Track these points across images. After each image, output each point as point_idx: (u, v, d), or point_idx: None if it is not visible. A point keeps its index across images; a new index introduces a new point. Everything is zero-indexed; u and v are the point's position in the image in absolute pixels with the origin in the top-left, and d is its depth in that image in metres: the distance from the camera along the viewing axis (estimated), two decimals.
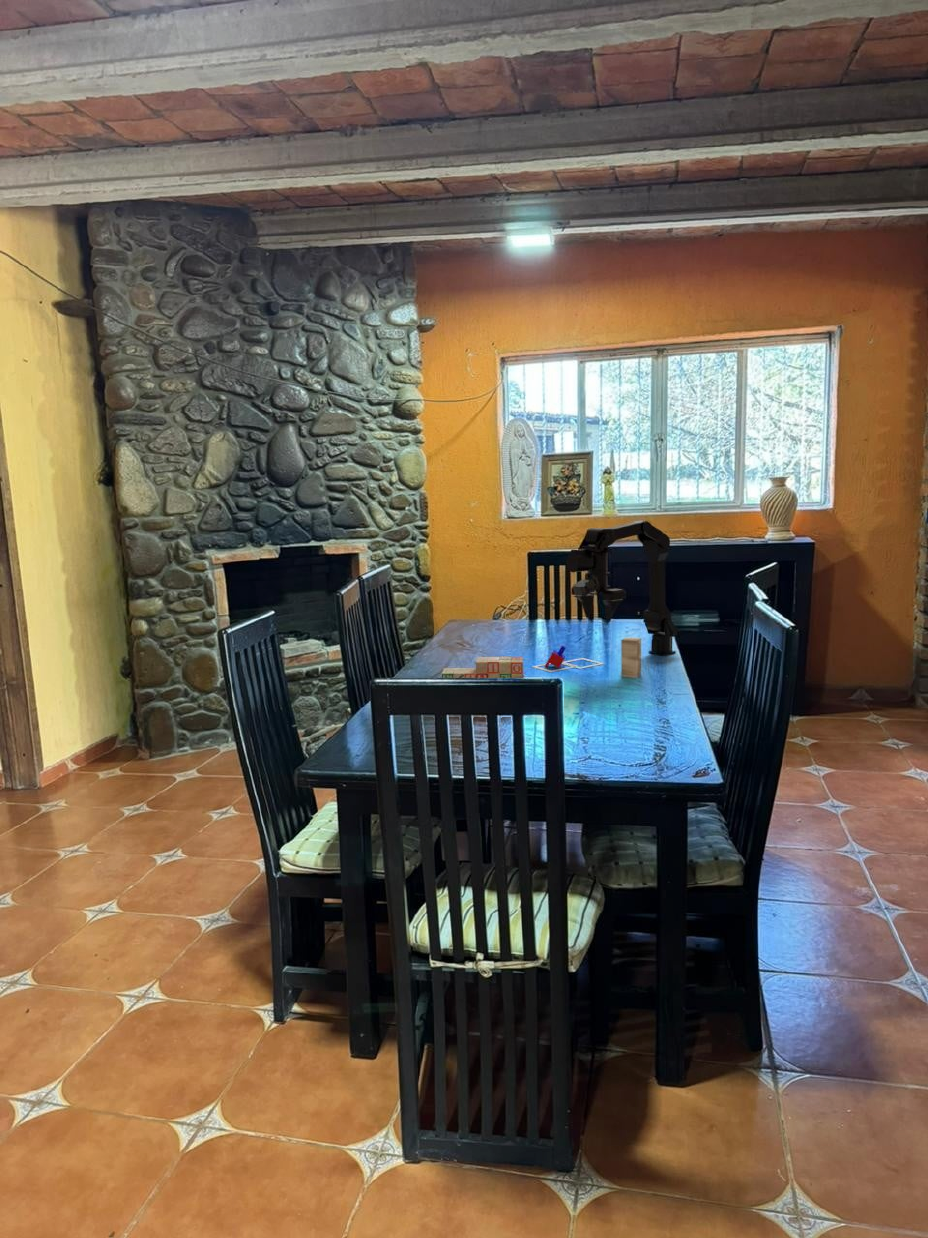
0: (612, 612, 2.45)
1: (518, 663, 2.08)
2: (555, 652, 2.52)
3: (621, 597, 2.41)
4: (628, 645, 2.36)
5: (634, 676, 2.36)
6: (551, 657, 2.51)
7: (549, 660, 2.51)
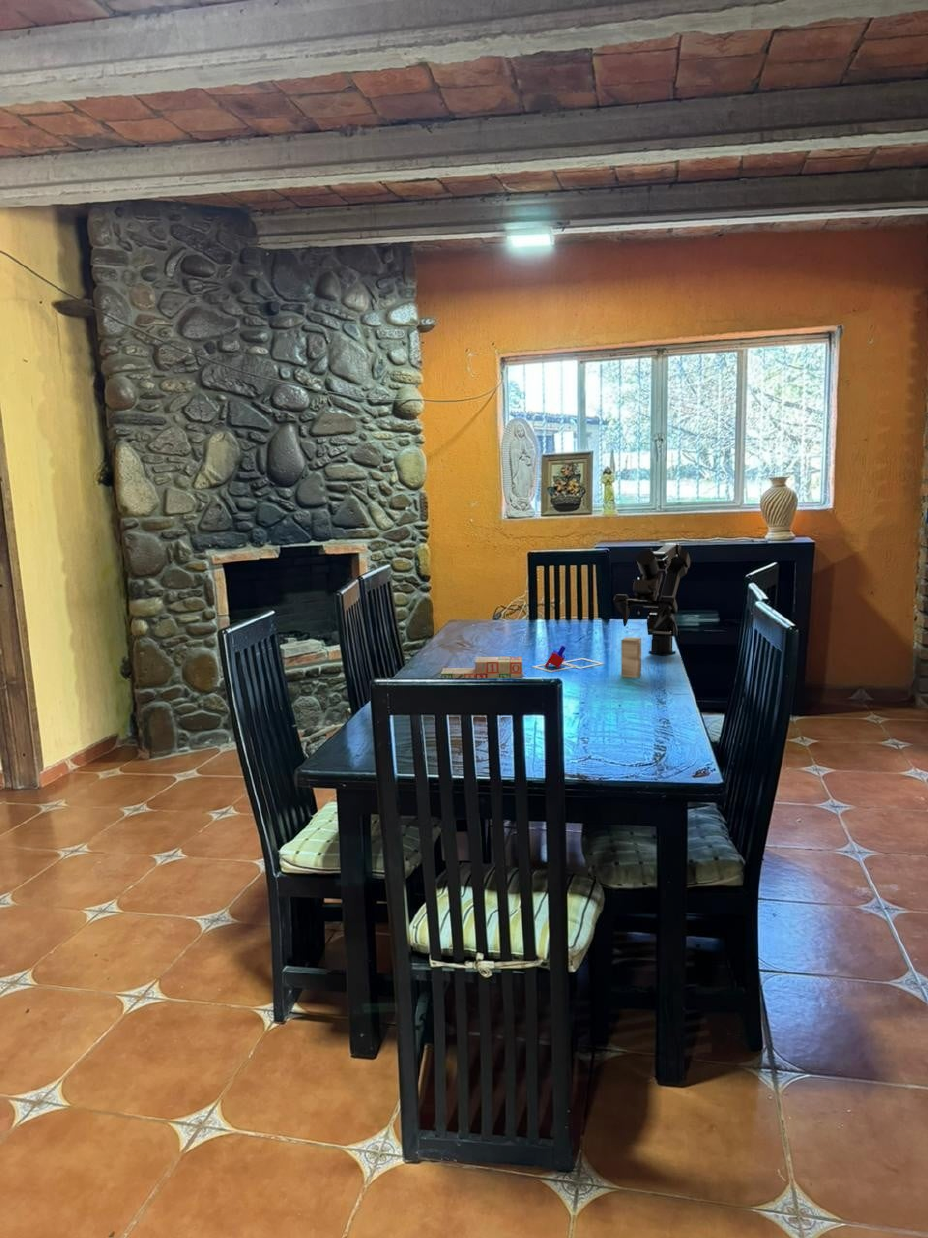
0: (660, 621, 2.42)
1: (517, 663, 2.09)
2: (555, 652, 2.52)
3: (675, 608, 2.43)
4: (628, 645, 2.36)
5: (634, 676, 2.36)
6: (551, 657, 2.51)
7: (549, 660, 2.51)
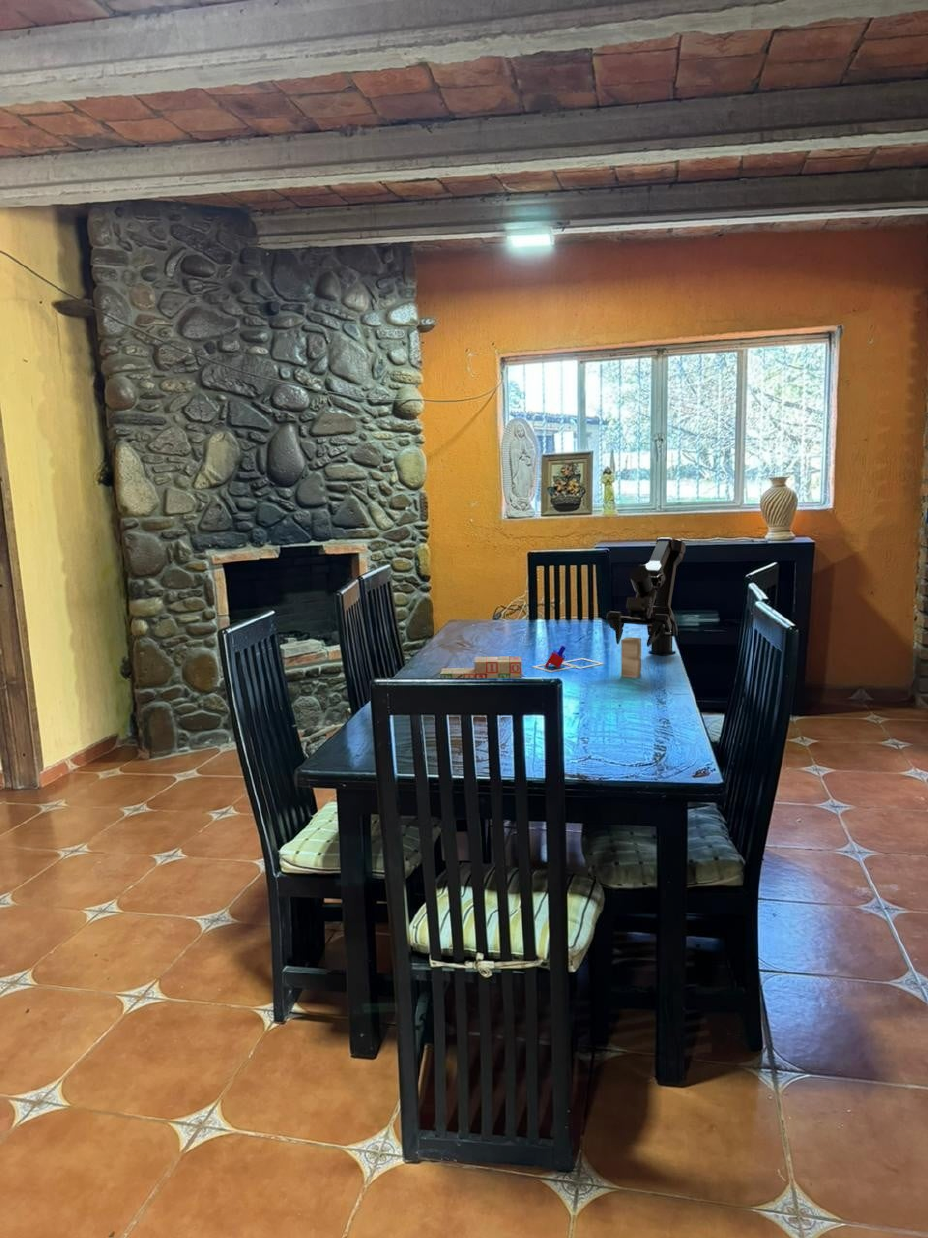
0: (653, 639, 2.37)
1: (517, 663, 2.09)
2: (555, 652, 2.52)
3: (669, 626, 2.38)
4: (628, 645, 2.36)
5: (634, 676, 2.36)
6: (551, 657, 2.51)
7: (549, 660, 2.51)
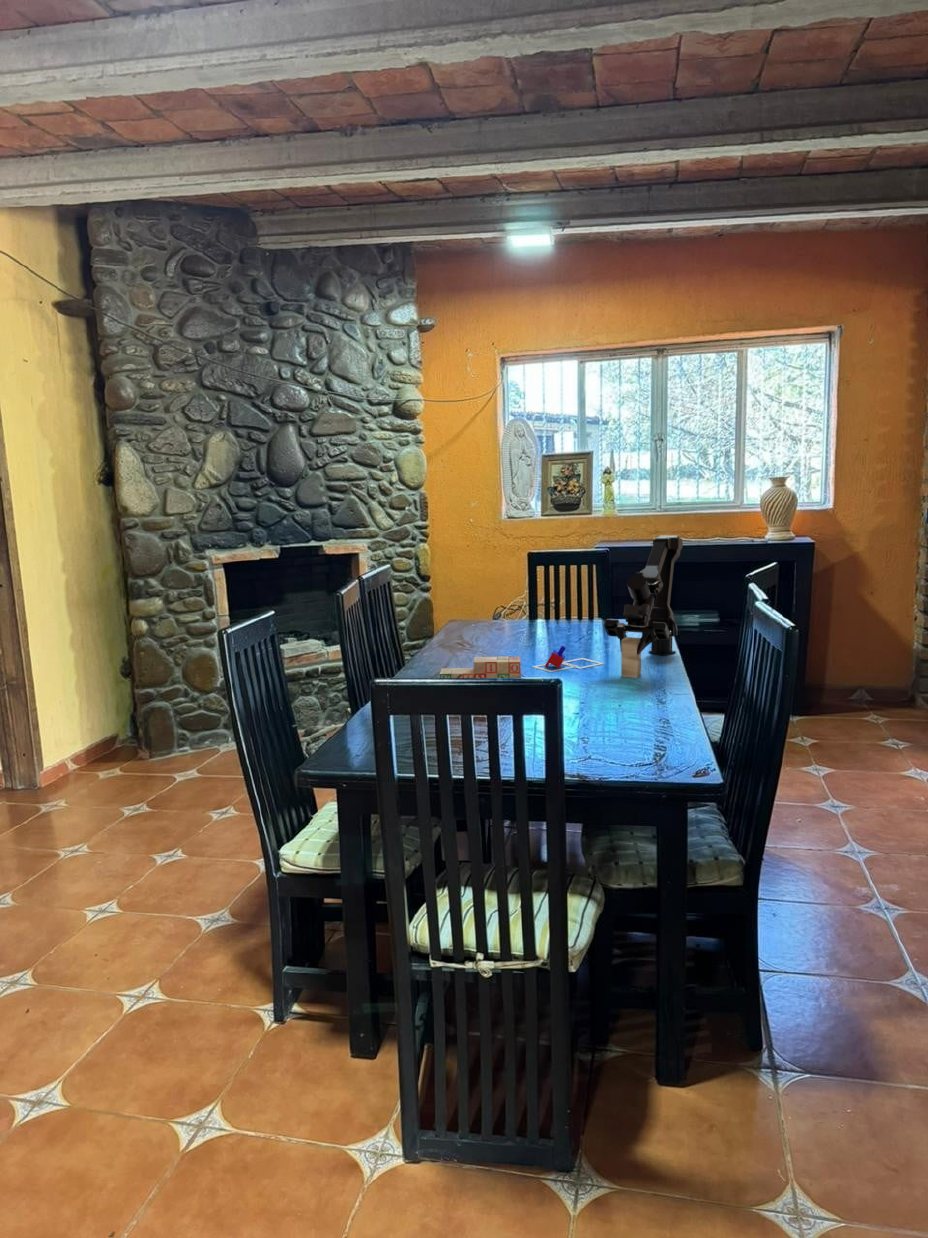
0: (643, 646, 2.37)
1: (516, 663, 2.09)
2: (555, 652, 2.52)
3: (667, 634, 2.36)
4: (628, 645, 2.36)
5: (634, 676, 2.36)
6: (551, 657, 2.51)
7: (549, 660, 2.51)
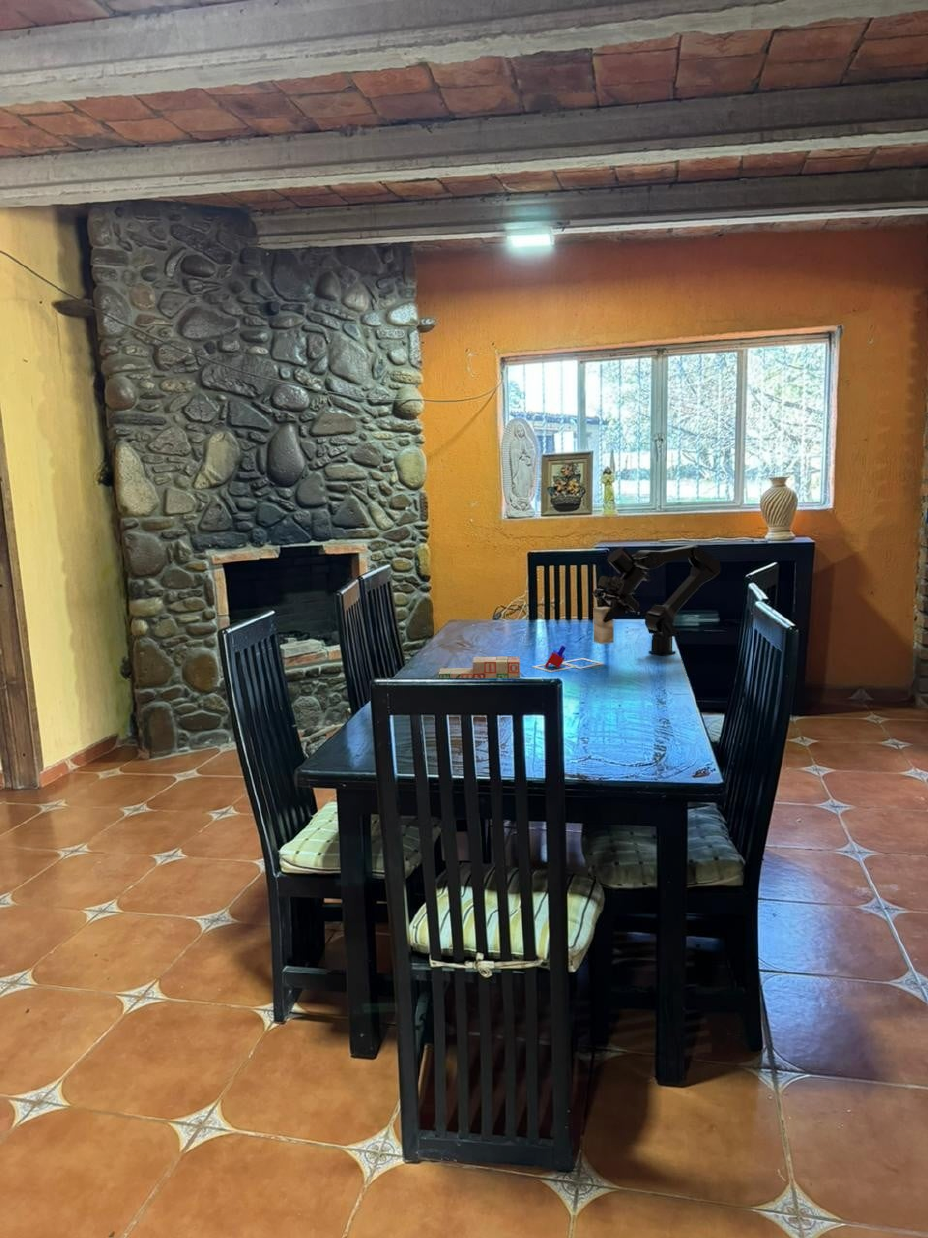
0: (612, 616, 2.53)
1: (515, 663, 2.09)
2: (555, 652, 2.52)
3: (633, 606, 2.48)
4: (596, 613, 2.55)
5: (600, 642, 2.54)
6: (551, 657, 2.51)
7: (549, 660, 2.51)
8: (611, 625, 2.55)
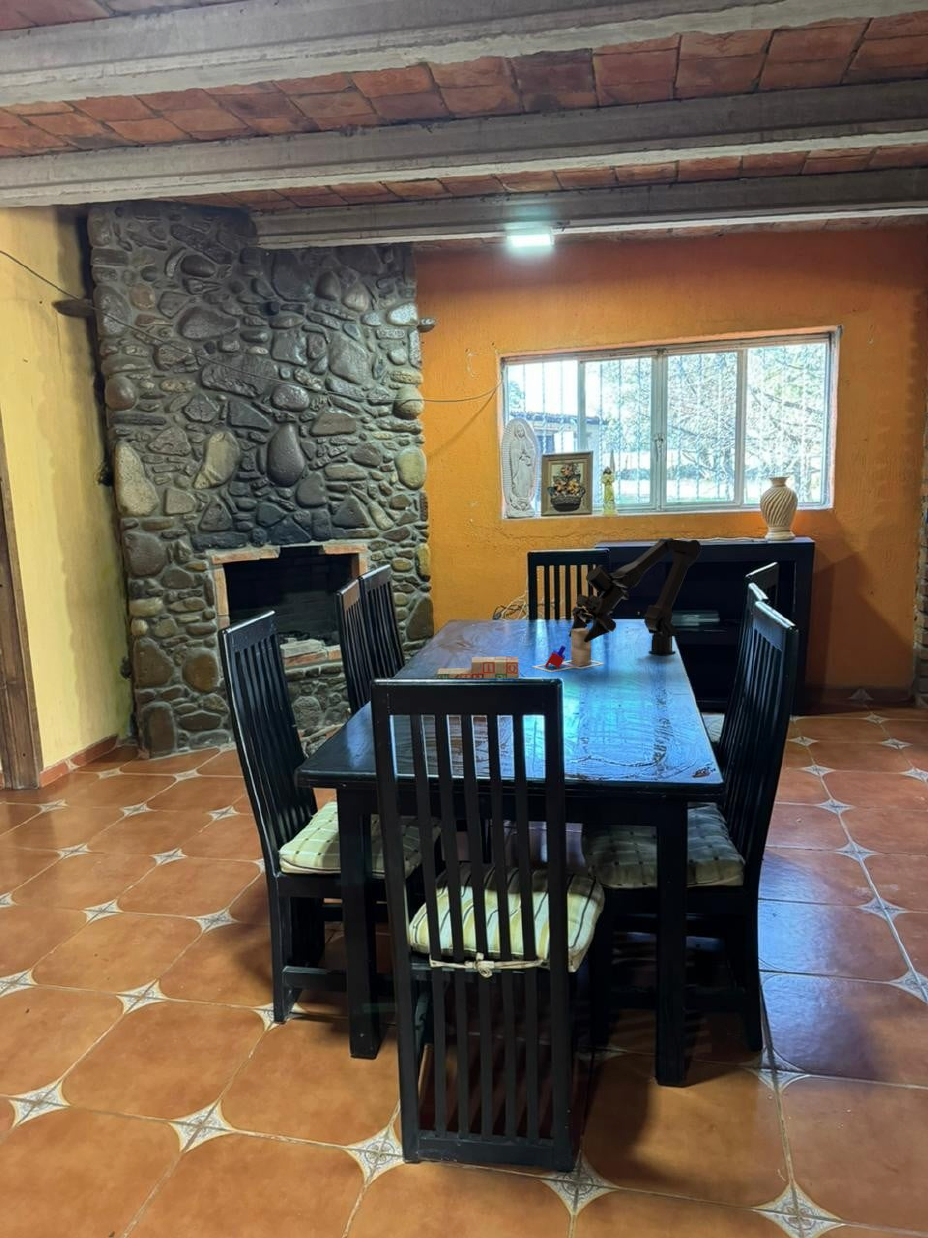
0: (593, 636, 2.50)
1: (513, 663, 2.09)
2: (555, 652, 2.52)
3: (610, 626, 2.47)
4: (574, 634, 2.54)
5: (577, 664, 2.53)
6: (551, 657, 2.51)
7: (549, 660, 2.51)
8: (588, 647, 2.54)
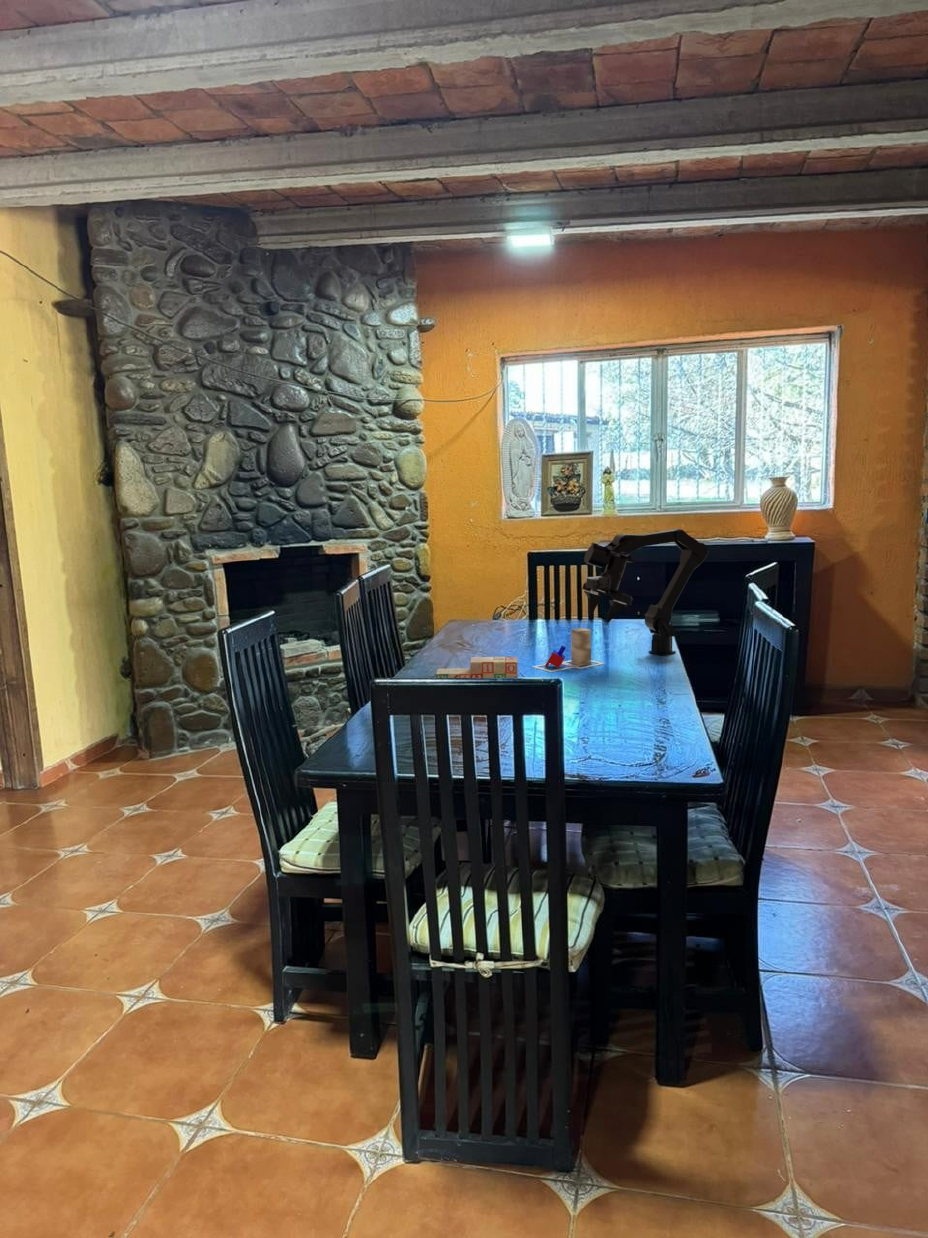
0: (614, 614, 2.56)
1: (513, 663, 2.09)
2: (555, 652, 2.52)
3: (627, 602, 2.52)
4: (574, 634, 2.54)
5: (577, 664, 2.53)
6: (551, 657, 2.51)
7: (549, 660, 2.51)
8: (588, 647, 2.53)
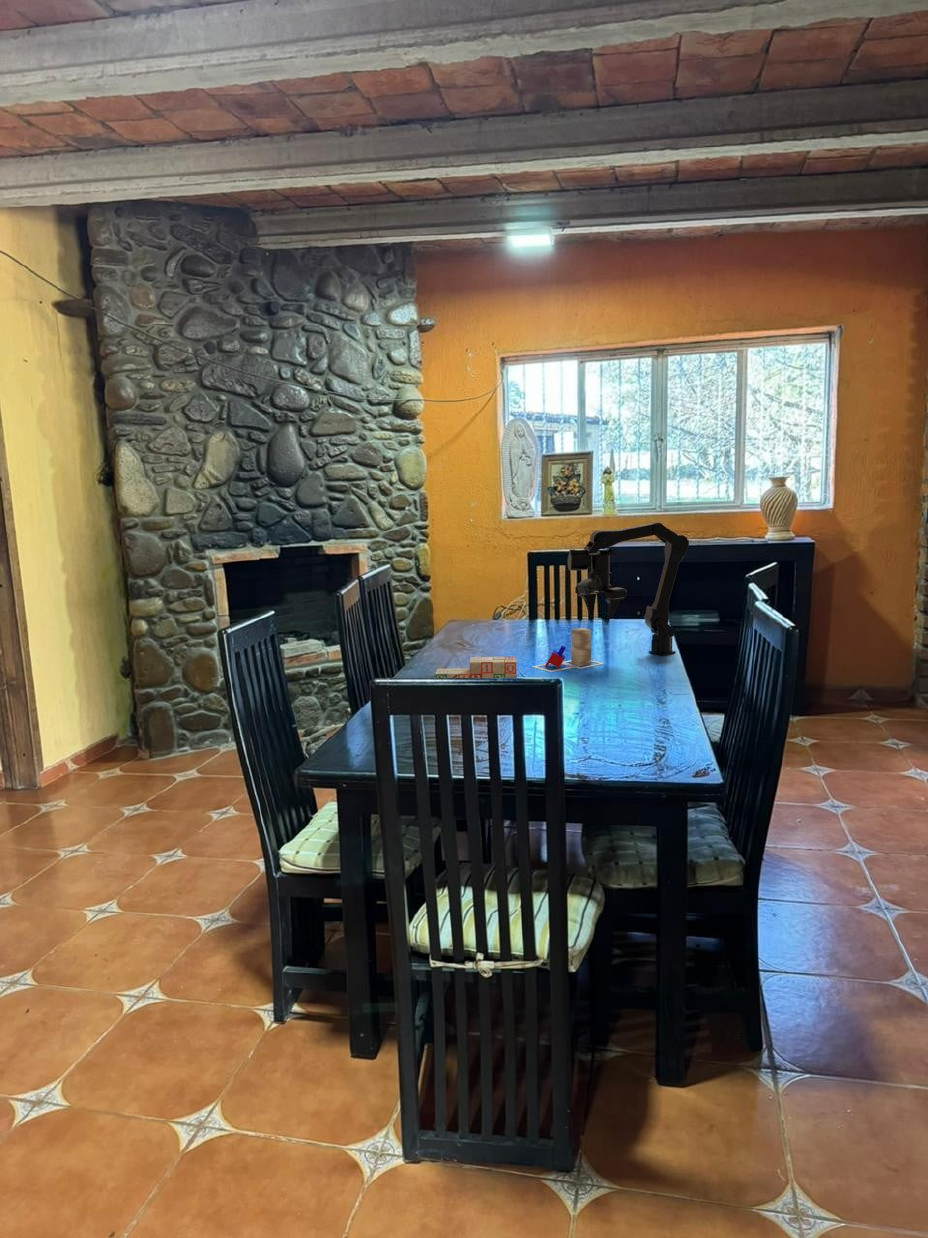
0: (614, 610, 2.59)
1: (512, 663, 2.09)
2: (555, 652, 2.52)
3: (622, 595, 2.55)
4: (574, 634, 2.54)
5: (577, 664, 2.53)
6: (551, 657, 2.51)
7: (549, 660, 2.51)
8: (588, 647, 2.53)
